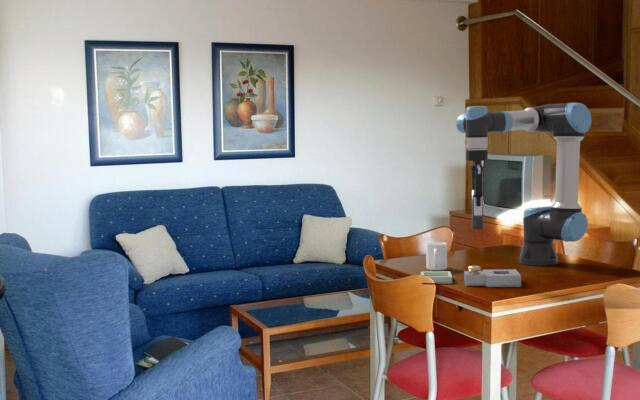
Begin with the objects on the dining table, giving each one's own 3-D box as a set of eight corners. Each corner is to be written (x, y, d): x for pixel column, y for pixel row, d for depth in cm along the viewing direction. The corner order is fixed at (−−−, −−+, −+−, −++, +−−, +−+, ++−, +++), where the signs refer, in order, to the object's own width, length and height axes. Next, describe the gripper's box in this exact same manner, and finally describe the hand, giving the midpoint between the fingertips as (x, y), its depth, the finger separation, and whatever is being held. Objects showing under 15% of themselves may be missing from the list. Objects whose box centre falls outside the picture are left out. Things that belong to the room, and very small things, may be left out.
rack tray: (450, 277, 288) (450, 271, 288) (452, 283, 277) (452, 276, 277) (421, 278, 289) (420, 271, 289) (421, 283, 278) (421, 277, 278)
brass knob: (480, 279, 277) (480, 265, 277) (481, 282, 273) (481, 267, 273) (467, 279, 278) (467, 265, 278) (468, 282, 274) (468, 267, 273)
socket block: (516, 280, 280) (516, 269, 279) (521, 286, 268) (520, 275, 268) (463, 280, 282) (463, 269, 282) (466, 287, 270) (465, 276, 270)
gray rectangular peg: (482, 228, 277) (482, 189, 276) (483, 229, 273) (483, 190, 272) (471, 228, 278) (471, 189, 276) (472, 229, 274) (472, 190, 273)
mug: (446, 272, 299) (445, 246, 298) (425, 272, 301) (424, 246, 300) (447, 267, 311) (447, 242, 310) (427, 266, 312) (426, 241, 312)
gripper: (463, 149, 282) (464, 212, 284) (468, 150, 265) (469, 217, 267) (484, 148, 281) (484, 212, 283) (490, 149, 264) (491, 216, 266)
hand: (477, 214), depth 275 cm, fingers closed on gray rectangular peg, 4 cm apart
